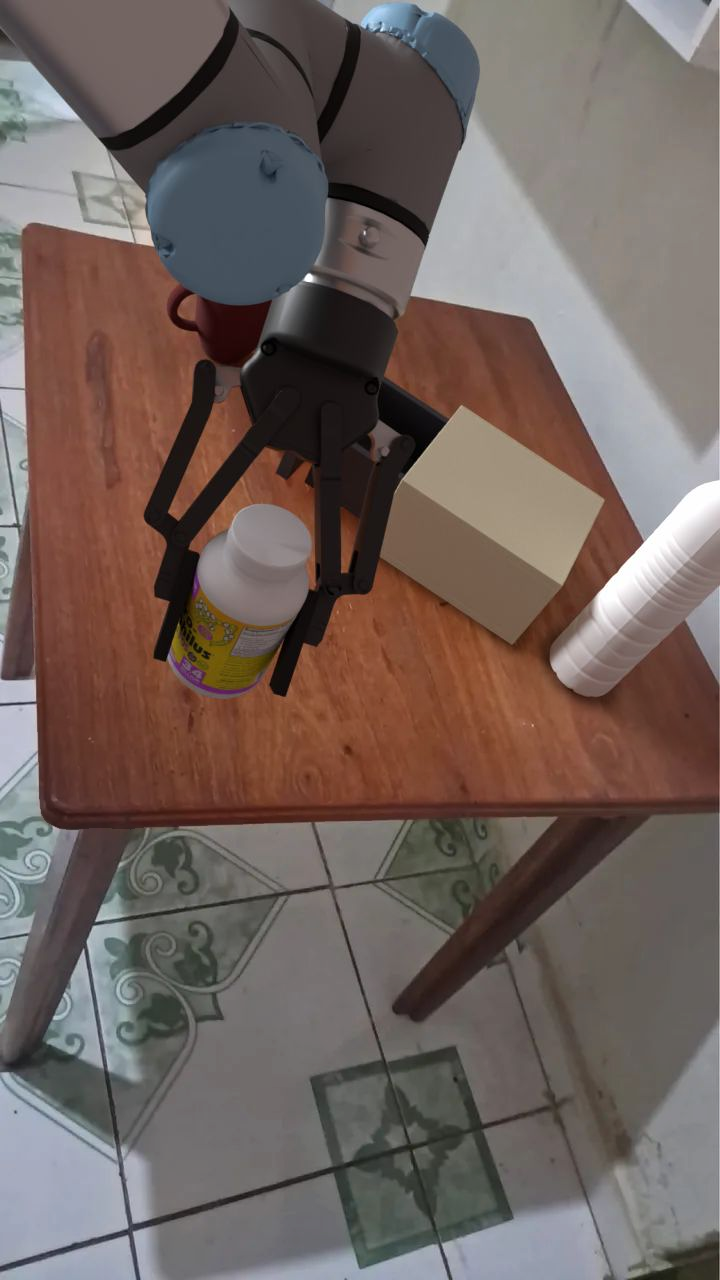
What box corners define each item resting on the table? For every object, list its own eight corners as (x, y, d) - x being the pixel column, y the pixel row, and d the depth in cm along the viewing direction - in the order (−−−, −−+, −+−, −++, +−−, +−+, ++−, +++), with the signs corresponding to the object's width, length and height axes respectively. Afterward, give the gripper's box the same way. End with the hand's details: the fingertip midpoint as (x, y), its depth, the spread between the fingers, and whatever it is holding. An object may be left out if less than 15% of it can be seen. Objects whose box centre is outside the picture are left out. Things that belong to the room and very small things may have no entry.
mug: (178, 385, 87) (203, 294, 80) (143, 326, 90) (164, 232, 83) (276, 376, 93) (308, 290, 85) (240, 321, 96) (268, 233, 88)
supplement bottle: (153, 622, 62) (200, 488, 53) (247, 615, 65) (307, 488, 56) (178, 710, 59) (233, 585, 50) (275, 698, 62) (345, 578, 53)
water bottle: (534, 645, 84) (713, 442, 66) (585, 631, 88) (769, 436, 69) (587, 728, 81) (791, 538, 62) (638, 710, 84) (846, 527, 66)
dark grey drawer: (219, 436, 84) (239, 376, 79) (287, 376, 92) (309, 318, 87) (412, 564, 83) (445, 513, 78) (462, 492, 92) (495, 441, 87)
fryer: (363, 546, 84) (402, 479, 77) (423, 470, 93) (461, 404, 86) (512, 645, 83) (562, 586, 77) (557, 559, 92) (605, 499, 86)
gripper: (178, 217, 49) (48, 635, 51) (512, 354, 54) (382, 733, 56) (176, 252, 57) (62, 617, 59) (471, 370, 61) (357, 705, 63)
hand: (219, 673), depth 57 cm, fingers closed on supplement bottle, 7 cm apart
